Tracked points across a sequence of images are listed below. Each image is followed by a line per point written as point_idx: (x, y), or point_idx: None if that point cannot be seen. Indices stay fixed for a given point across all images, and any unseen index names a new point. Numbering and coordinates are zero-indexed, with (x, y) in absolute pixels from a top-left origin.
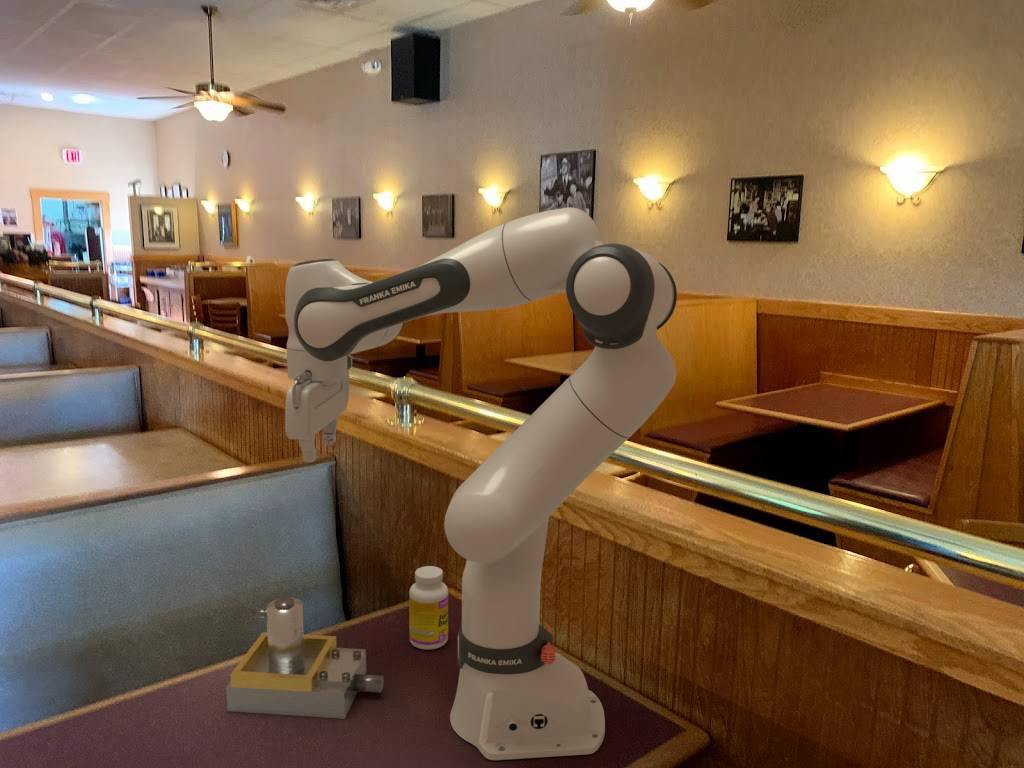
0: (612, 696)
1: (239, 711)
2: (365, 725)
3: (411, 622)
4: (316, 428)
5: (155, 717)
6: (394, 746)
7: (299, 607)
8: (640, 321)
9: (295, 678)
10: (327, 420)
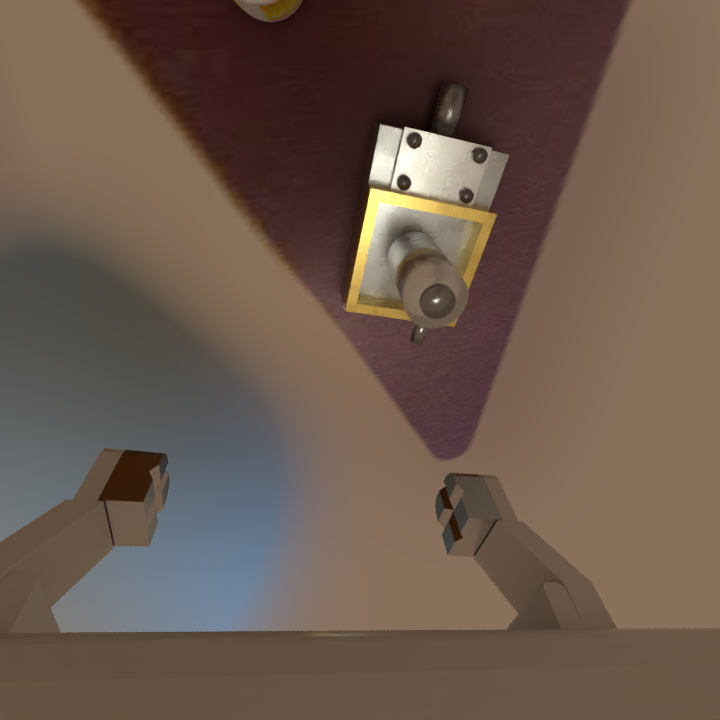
0: None
1: None
2: (517, 112)
3: (285, 9)
4: (691, 680)
5: (433, 373)
6: (582, 56)
7: (448, 272)
8: None
9: (487, 239)
10: (417, 680)
